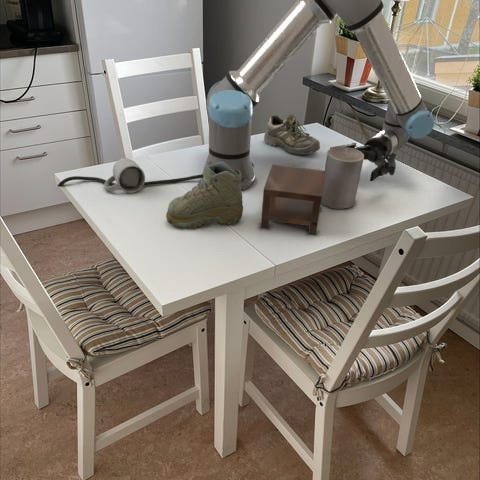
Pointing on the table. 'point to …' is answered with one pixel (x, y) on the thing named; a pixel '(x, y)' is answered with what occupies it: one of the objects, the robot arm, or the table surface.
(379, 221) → the table surface
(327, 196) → the pillar candle
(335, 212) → the table surface
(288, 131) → the hiking shoe
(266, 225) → the shelf rack
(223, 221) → the sneaker
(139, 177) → the ceramic mug
